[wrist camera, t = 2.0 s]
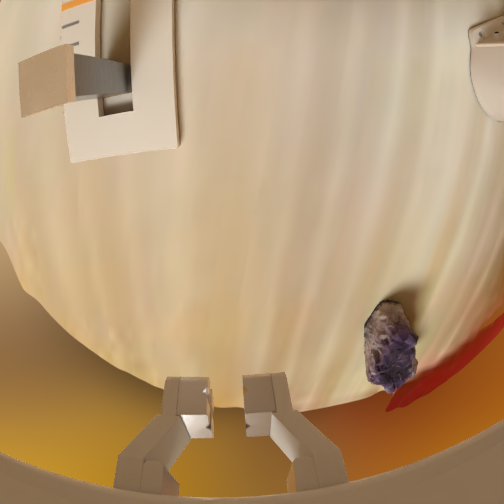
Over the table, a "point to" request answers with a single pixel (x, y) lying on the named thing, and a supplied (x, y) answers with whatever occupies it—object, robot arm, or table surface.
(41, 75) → the fader tab
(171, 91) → the console
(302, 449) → the robot arm
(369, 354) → the geode
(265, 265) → the table surface
